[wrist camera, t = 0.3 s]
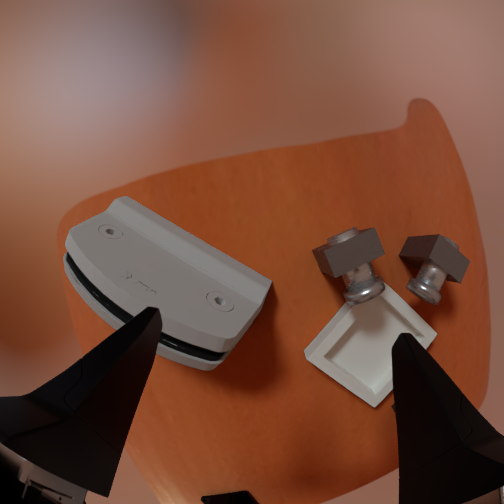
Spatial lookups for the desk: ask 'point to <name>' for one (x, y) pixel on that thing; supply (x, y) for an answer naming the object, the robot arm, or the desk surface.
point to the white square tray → (366, 344)
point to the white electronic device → (164, 282)
